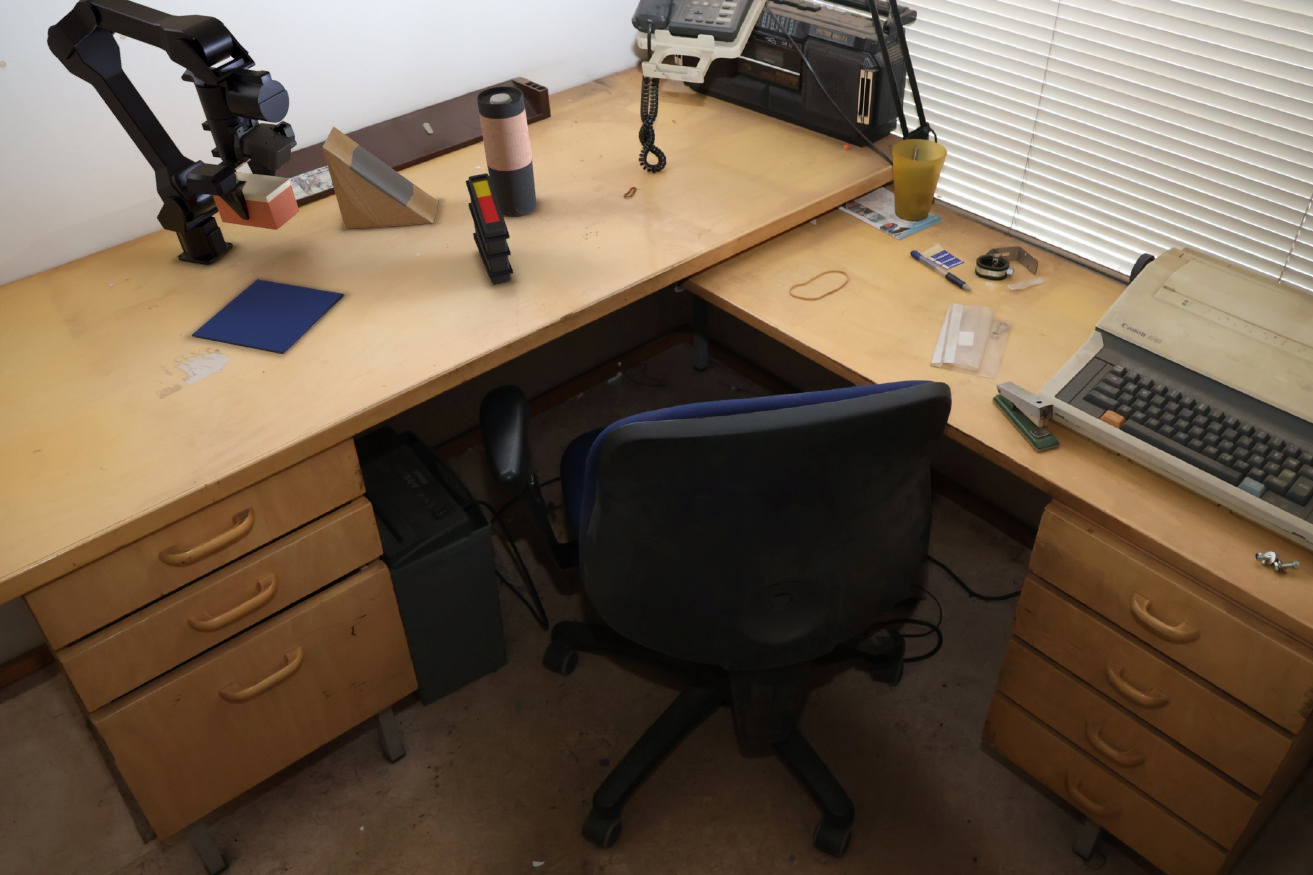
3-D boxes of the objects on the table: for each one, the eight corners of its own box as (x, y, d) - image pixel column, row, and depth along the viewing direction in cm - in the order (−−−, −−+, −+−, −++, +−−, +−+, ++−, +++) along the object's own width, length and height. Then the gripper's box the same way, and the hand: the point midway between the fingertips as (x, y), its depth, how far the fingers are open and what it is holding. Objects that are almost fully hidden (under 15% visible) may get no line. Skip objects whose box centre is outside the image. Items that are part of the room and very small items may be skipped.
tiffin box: (221, 222, 155) (209, 189, 151) (245, 204, 160) (234, 171, 156) (277, 230, 152) (266, 197, 149) (300, 211, 157) (290, 178, 153)
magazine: (493, 230, 166) (489, 170, 152) (514, 296, 161) (512, 240, 147) (471, 235, 165) (465, 175, 152) (491, 301, 160) (487, 245, 147)
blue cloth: (192, 336, 149) (191, 334, 149) (257, 280, 160) (257, 279, 160) (282, 353, 145) (282, 352, 144) (343, 295, 156) (343, 293, 156)
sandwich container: (434, 224, 172) (416, 141, 162) (344, 229, 172) (321, 147, 162) (439, 200, 178) (423, 119, 169) (353, 205, 178) (331, 124, 168)
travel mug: (495, 198, 178) (477, 87, 165) (538, 195, 178) (523, 84, 165) (493, 219, 172) (474, 106, 159) (538, 216, 173) (523, 102, 159)
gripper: (232, 145, 136) (266, 246, 146) (309, 92, 149) (336, 188, 160) (165, 137, 139) (203, 237, 149) (247, 86, 152) (277, 180, 163)
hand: (258, 210), depth 155 cm, fingers closed on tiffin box, 6 cm apart
